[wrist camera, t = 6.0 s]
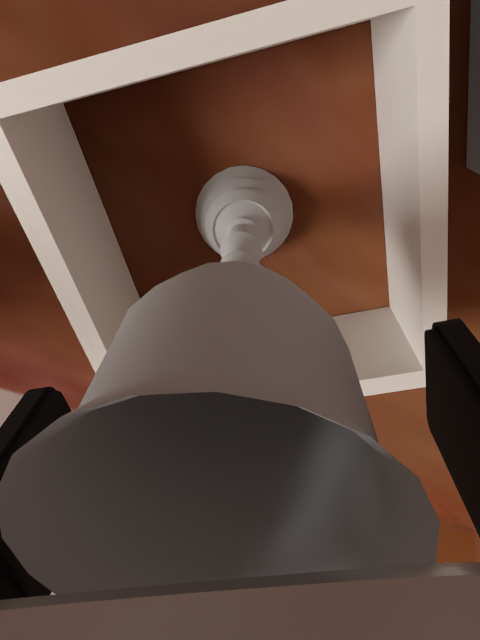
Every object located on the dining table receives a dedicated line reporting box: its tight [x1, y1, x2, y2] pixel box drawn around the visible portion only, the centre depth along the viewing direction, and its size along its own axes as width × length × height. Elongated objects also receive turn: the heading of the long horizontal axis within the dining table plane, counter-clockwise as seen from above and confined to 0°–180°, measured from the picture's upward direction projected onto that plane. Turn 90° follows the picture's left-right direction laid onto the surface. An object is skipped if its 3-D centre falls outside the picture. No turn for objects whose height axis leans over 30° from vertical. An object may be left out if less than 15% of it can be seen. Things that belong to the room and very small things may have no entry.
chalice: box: [0, 165, 440, 595], centre depth 15 cm, size 7×7×18 cm
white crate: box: [0, 0, 450, 396], centre depth 20 cm, size 16×16×6 cm
